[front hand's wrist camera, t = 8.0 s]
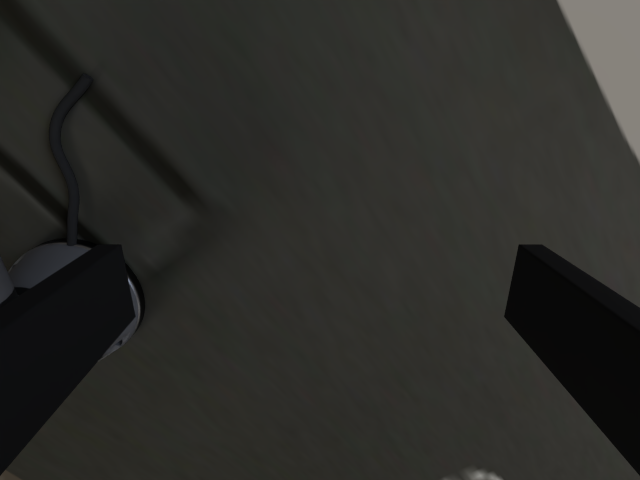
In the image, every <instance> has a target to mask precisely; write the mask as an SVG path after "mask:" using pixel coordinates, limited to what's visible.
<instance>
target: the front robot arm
mask: <svg viewBox="0 0 640 480" xmlns="http://www.w3.org/2000/svg"><path fill="white" fill-rule="evenodd" d="M92 82H93V79H92V78H91V77H90V76H89V75H87V74H84V73H83V74H82V76H81V77H80V79H79V80H78V81H77V83H76V84H75V85H74V86H73V88H72V89H71V90H70V91H69V92H68V93H67V95H66V96H65V97H64V98H63V99H62V101H61V102H60V103H59V105H58V106H57V108H56V109H55V111H54V113H53V116H52V119H51V123H50V129H49V140H50V146H51V149H52V152H53V155H54V157H55V159H56V161H57V163H58V165H59V167H60V169H61V171H62V173H63V175H64V178H65V180H66V183H67V186H68V191H69V206H68V216H67V239H56V240H52V241H48V242H45V243H43V244H41V245H39V246H37V247H35V248H33V249H31V250H29V251H27V252H26V253H24V254H23V255H22V256H21V257H20V258H19V259H18V260H17V261H16V262H15V263H14V264H13V265H12V267H11V268H10V270H9V271H7V269H6V267H5V265H4V263H3V261H2V258H1V256H0V475H1V474H2V473H3V472H4V471H5V469H6V468H7V467H8V466H9V465H10V464H11V462H12V461H13V460H14V459H15V458H16V456H17V455H18V454H19V453H20V452H21V451H22V449H23V448H24V447H25V446H26V445H27V444H28V442H29V441H30V440H31V439H32V438H33V437H34V435H35V434H36V433H37V432H38V431H39V430H40V428H41V427H42V426H43V425H44V424H45V423H46V421H47V420H48V419H49V418H50V417H51V415H52V414H53V413H54V412H55V411H56V410H57V408H58V407H59V406H60V405H61V404H62V403H63V401H64V400H65V399H66V398H67V397H68V396H69V394H70V393H71V392H72V391H73V390H74V389H75V387H76V386H77V385H78V384H79V383H80V381H81V380H82V379H83V378H84V377H85V376H86V374H87V373H88V372H89V371H90V370H91V369H92V367H93V366H94V365H95V364H96V363H97V362H98V361H99V359H100V360H101V358H102V359H103V358H104V357H106V355H109V354H111V353H112V352H114V351H115V350H117V349H118V348H120V347H121V346H123V345H124V344H125V343H126V342H127V341H128V340H129V339H130V338H131V337H132V336H133V334H134V333H135V332H136V331H137V329H138V328H139V326H140V324H141V322H142V320H143V316H144V311H145V300H144V294H143V291H142V288H141V285H140V283H139V281H138V279H137V277H136V276H135V274H134V273H133V271H132V270H131V269H130V268H129V267H128V265H127V264H126V263H125V261H124V256H123V251H122V246H121V245H97V244H94V243H91V242H88V241H84V240H78V239H77V222H78V210H79V189H78V185H77V181H76V178H75V176H74V173H73V171H72V169H71V167H70V165H69V163H68V161H67V159H66V157H65V155H64V152H63V149H62V146H61V140H60V134H61V127H62V123H63V121H64V118H65V116H66V115H67V113H68V112H69V110H70V109H71V108H72V106H73V105H74V104H75V103H76V102H77V101H78V100H79V98H80V97H81V96H82V95H83V94H84V93H85V91H86V90H87V89H88V87H89V86H90V85H91V83H92ZM504 317H505V318H506V319H507V321H508V322H509V323H510V324H511V325H512V326H513V328H514V329H515V330H516V331H517V332H518V333H519V335H520V336H521V337H522V338H523V339H524V340H525V342H526V343H527V344H528V345H529V346H530V348H531V349H532V350H533V351H534V352H535V353H536V355H537V356H538V357H539V358H540V359H541V360H542V362H543V363H544V364H545V365H546V366H547V367H548V369H549V370H550V371H551V372H552V373H553V374H554V376H555V377H556V378H557V379H558V380H559V381H560V383H561V384H562V385H563V386H564V387H565V389H566V390H567V391H568V392H569V393H570V394H571V396H572V397H573V398H574V399H575V400H576V401H577V403H578V404H579V405H580V406H581V407H582V408H583V410H584V411H585V412H586V413H587V414H588V415H589V417H590V418H591V419H592V420H593V421H594V423H595V424H596V425H597V426H598V427H599V428H600V430H601V431H602V432H603V433H604V434H605V435H606V437H607V438H608V439H609V440H610V441H611V442H612V444H613V445H614V446H615V447H616V448H617V449H618V451H619V452H620V453H621V454H622V455H623V456H624V458H625V459H626V460H627V461H628V462H629V464H630V465H631V466H632V467H633V468H634V469H635V471H636V472H637V473H638V474H639V475H640V308H639V307H638V306H636V305H635V304H633V303H631V302H630V301H628V300H627V299H625V298H624V297H622V296H621V295H619V294H618V293H616V292H614V291H613V290H611V289H610V288H608V287H607V286H605V285H604V284H602V283H601V282H599V281H597V280H596V279H594V278H593V277H591V276H590V275H588V274H587V273H585V272H584V271H582V270H581V269H579V268H577V267H576V266H574V265H573V264H571V263H570V262H568V261H567V260H565V259H564V258H562V257H560V256H559V255H557V254H556V253H554V252H553V251H551V250H550V249H548V248H547V247H545V246H543V245H519V246H518V251H517V256H516V261H515V266H514V271H513V276H512V281H511V286H510V291H509V296H508V301H507V306H506V310H505V315H504Z"/></svg>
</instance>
